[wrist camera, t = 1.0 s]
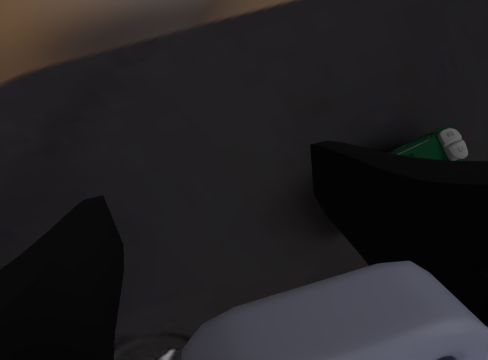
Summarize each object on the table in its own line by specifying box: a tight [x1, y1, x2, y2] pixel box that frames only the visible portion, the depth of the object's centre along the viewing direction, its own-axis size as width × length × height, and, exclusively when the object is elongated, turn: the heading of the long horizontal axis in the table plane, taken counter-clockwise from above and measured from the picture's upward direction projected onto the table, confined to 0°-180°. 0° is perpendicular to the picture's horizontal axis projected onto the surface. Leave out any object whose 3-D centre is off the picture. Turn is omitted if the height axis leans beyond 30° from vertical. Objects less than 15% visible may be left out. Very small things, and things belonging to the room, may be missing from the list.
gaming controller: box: [388, 126, 468, 161], centre depth 24 cm, size 9×4×6 cm
